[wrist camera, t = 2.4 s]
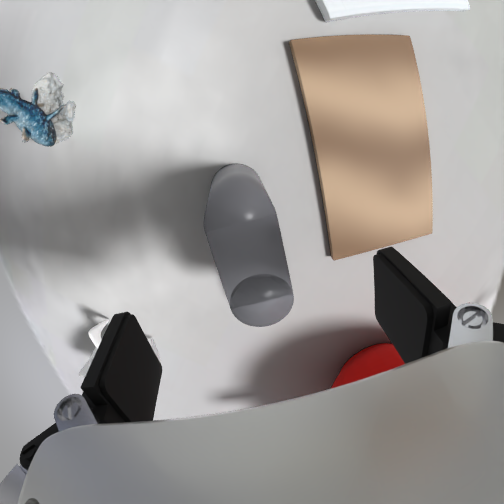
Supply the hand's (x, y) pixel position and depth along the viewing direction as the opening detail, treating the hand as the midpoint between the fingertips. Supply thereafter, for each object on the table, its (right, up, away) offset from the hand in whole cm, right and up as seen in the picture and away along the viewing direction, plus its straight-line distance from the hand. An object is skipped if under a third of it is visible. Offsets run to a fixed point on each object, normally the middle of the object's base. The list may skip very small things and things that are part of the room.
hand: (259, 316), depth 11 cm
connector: (-1, +4, +8) cm, 9 cm away
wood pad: (+7, +9, +6) cm, 13 cm away
